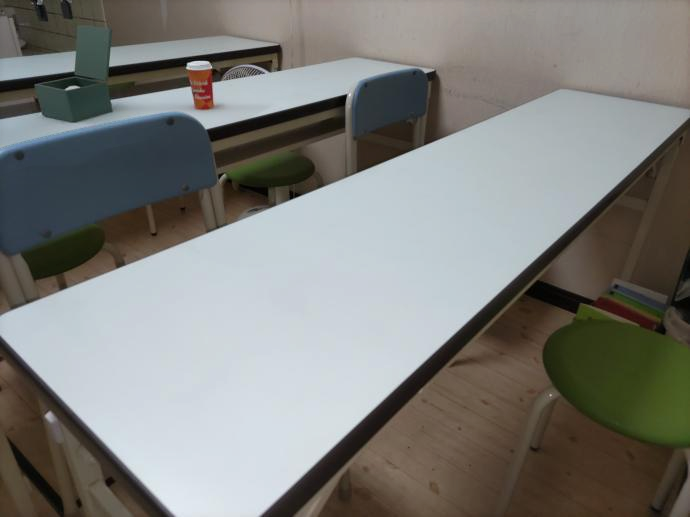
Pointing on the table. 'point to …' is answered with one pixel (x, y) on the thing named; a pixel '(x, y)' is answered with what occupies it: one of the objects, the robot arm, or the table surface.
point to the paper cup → (201, 84)
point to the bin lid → (93, 52)
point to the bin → (73, 99)
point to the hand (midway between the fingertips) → (56, 19)
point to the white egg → (72, 87)
